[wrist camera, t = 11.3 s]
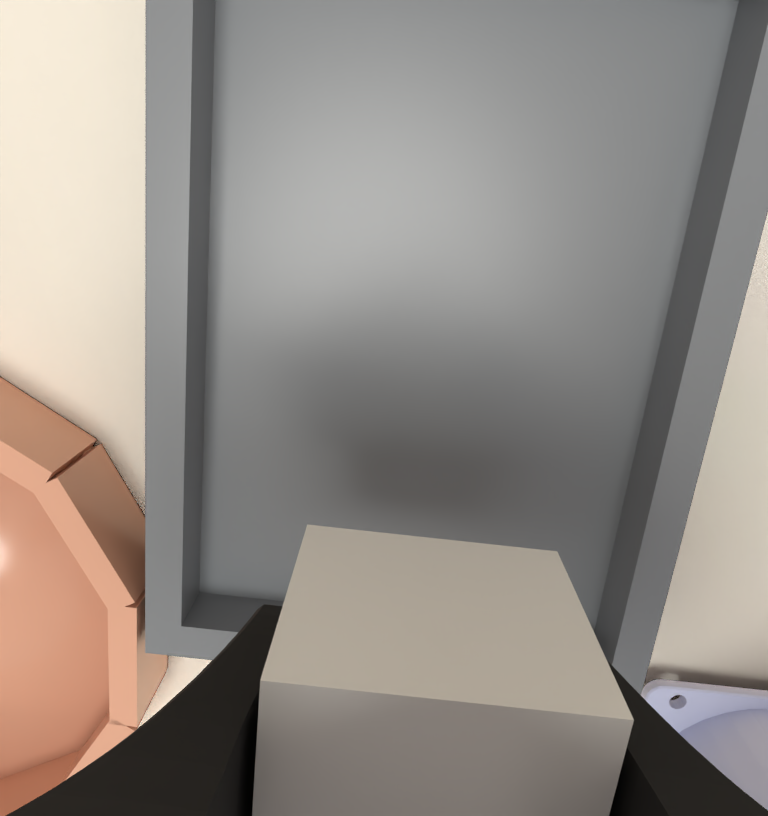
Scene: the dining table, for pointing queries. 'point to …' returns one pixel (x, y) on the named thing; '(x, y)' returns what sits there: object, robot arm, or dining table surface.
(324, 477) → the parts tray
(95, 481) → the bowl
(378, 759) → the greyish beige cube
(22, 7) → the dining table surface
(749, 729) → the robot arm
